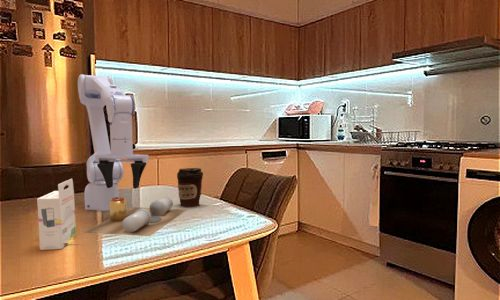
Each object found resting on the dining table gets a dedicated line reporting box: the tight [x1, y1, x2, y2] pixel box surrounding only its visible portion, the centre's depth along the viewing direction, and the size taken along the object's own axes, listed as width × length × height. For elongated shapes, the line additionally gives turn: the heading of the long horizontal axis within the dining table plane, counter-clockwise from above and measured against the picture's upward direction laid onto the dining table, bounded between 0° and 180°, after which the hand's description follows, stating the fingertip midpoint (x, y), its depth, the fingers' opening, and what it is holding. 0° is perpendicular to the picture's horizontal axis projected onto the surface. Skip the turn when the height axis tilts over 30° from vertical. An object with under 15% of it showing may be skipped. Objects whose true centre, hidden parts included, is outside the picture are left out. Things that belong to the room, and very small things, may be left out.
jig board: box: [82, 206, 187, 237], centre depth 102 cm, size 18×26×1 cm
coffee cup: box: [176, 167, 204, 208], centre depth 118 cm, size 9×8×13 cm
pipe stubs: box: [122, 196, 174, 233], centre depth 101 cm, size 5×23×5 cm, turn 170°
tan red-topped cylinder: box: [109, 196, 128, 222], centre depth 101 cm, size 4×4×6 cm
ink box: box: [36, 178, 77, 251], centre depth 84 cm, size 9×5×15 cm, turn 5°
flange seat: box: [150, 217, 162, 223], centre depth 101 cm, size 6×6×1 cm
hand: (122, 187), depth 101 cm, fingers open, 7 cm apart
